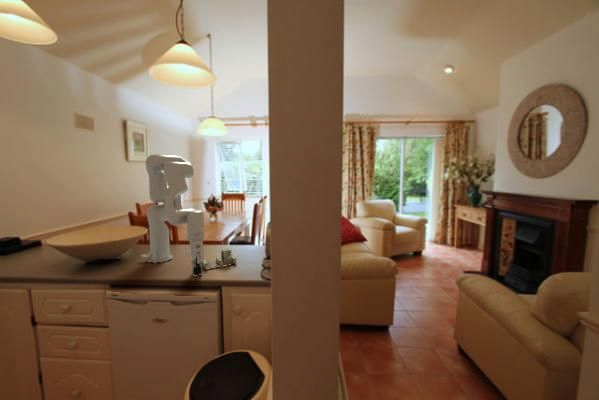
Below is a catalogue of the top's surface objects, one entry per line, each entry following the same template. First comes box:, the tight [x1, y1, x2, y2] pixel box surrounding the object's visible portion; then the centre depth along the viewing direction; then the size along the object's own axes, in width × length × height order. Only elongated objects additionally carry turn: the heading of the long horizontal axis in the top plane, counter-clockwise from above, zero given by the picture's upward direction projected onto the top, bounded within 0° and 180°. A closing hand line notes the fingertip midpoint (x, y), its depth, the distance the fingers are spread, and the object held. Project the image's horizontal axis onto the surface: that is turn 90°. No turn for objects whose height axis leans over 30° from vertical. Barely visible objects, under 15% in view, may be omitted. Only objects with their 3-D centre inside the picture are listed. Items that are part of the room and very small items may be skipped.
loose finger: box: [191, 259, 204, 275], centre depth 119 cm, size 4×4×7 cm
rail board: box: [201, 247, 238, 269], centre depth 132 cm, size 16×8×8 cm, turn 122°
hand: (196, 272), depth 119 cm, fingers closed on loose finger, 4 cm apart
